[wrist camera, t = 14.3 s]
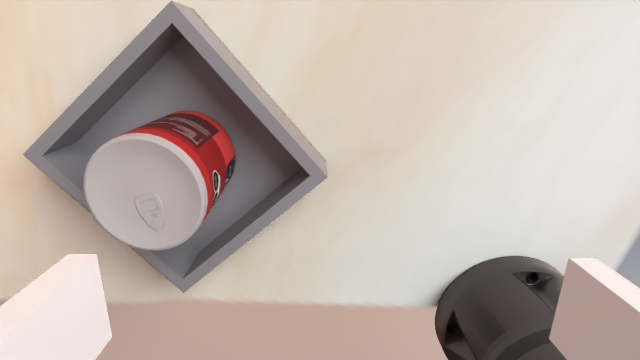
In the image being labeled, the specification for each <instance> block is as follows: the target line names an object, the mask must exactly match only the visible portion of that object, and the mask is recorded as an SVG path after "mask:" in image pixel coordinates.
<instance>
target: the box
mask: <svg viewBox="0 0 640 360" xmlns="http://www.w3.org/2000/svg"><path fill="white" fill-rule="evenodd" d="M184 110H188V111H196V112H200V113H203V114H205V115H208V116H210V117H212V118H213V119H214V120H216V121H217V122H218V123H220V124H221V125H222V126H223V128H224V129H225V130H226V131H227V133H228V134H229V136H230V138H231V140H232V143H233V145H234V149H235V154H236V163H235V169H234V172H233V174H232V177H231V179H230V180H229V182H228V183H227V185H226V187H225V188H224V190H223V191H222V193H221V194H220V196H219V198H218V199H217V201H216V202H215V204H214V206H213V207H212V209H211V210H210V212H209V213H208V215H207V217H206V218H205V219H204V221H203V222H202V224H201V225H200V227H199V228H198V229H197V231H196V232H195V233H194V234H193V235H192V236H191V237H190V238H188V239H187V240H186V241H185V242H183V243H181V244H180V245H178V246H176V247H173V248H169V249H165V250H157V251H154V250H143V249H139V248H134V247H132V246H130V247H131V248H132V249H133V250H134V251H136V252H137V253H138V254H139V255H140V256H141V257H143V258H144V259H145V260H146V261H147V262H148V263H150V264H151V265H152V266H153V267H154V268H155V269H157V270H158V271H159V272H160V273H161V274H162V275H164V276H165V277H166V278H167V279H168V280H169V281H171V282H172V283H173V284H174V285H175V286H176V287H178V288H179V289H180V290H181V291H182V292H183V293H184V292H185V291H186V290H188V289H189V288H190V287H191V286H193V285H194V284H195V283H196V282H197V281H199V280H200V279H201V278H202V277H204V276H205V275H206V274H207V273H209V272H210V271H211V270H212V269H214V268H215V267H216V266H217V265H219V264H220V263H221V262H222V261H224V260H225V259H226V258H227V257H229V256H230V255H231V254H232V253H234V252H235V251H236V250H237V249H239V248H240V247H241V246H242V245H244V244H245V243H246V242H247V241H249V240H250V239H251V238H252V237H254V236H255V235H256V234H257V233H259V232H260V231H261V230H262V229H264V228H265V227H266V226H267V225H269V224H270V223H271V222H272V221H274V220H275V219H276V218H277V217H279V216H280V215H281V214H282V213H284V212H285V211H286V210H287V209H288V208H290V207H291V206H292V205H293V204H295V203H296V202H297V201H298V200H300V199H301V198H302V197H303V196H305V195H306V194H307V193H308V192H310V191H311V190H312V189H313V188H315V187H316V186H317V185H318V184H320V183H321V182H322V181H323V180H325V179H326V178H327V177H328V176H327V168H326V160H325V159H324V158H323V157H322V156H321V154H320V153H319V152H318V151H317V150H316V149H315V148H314V146H313V145H312V144H311V143H310V142H309V141H308V140H307V138H306V137H305V136H304V135H303V134H302V133H301V132H300V130H299V129H298V128H297V127H296V126H295V125H294V124H293V122H292V121H291V120H290V119H289V118H288V117H287V116H286V114H285V113H284V112H283V111H282V110H281V109H280V108H279V106H278V105H277V104H276V103H275V102H274V101H273V100H272V98H271V97H270V96H269V95H268V94H267V93H266V92H265V90H264V89H263V88H262V87H261V86H260V85H259V84H258V82H257V81H256V80H255V79H254V78H253V77H252V76H251V75H250V73H249V72H248V71H247V70H246V69H245V68H244V67H243V65H242V64H241V63H240V62H239V61H238V60H237V59H236V57H235V56H234V55H233V54H232V53H231V52H230V51H229V49H228V48H227V47H226V46H225V45H224V44H223V43H222V41H221V40H220V39H219V38H218V37H217V36H216V35H215V33H214V32H213V31H212V30H211V29H210V28H209V27H208V25H207V24H206V23H205V22H204V21H203V20H202V19H201V17H200V16H199V15H198V14H197V13H196V12H195V11H194V9H192V8H189V7H186V6H184V5H181V4H178V3H175V2H173V1H171V2H170V3H169V4H168V5H167V6H166V7H165V8H164V9H163V10H162V11H161V12H160V13H159V14H158V15H157V16H156V17H155V18H154V19H153V20H152V21H151V22H150V23H149V24H148V25H147V26H146V27H145V29H144V30H143V31H142V32H141V33H140V34H139V35H138V36H137V37H136V38H135V39H134V40H133V41H132V42H131V43H130V44H129V45H128V46H127V47H126V48H125V49H124V50H123V51H122V52H121V53H120V54H119V55H118V57H117V58H116V59H115V60H114V61H113V62H112V63H111V64H110V65H109V66H108V67H107V68H106V69H105V70H104V71H103V72H102V73H101V74H100V75H99V76H98V77H97V78H96V79H95V80H94V81H93V82H92V84H91V85H90V86H89V87H88V88H87V89H86V90H85V91H84V92H83V93H82V94H81V95H80V96H79V97H78V98H77V99H76V100H75V101H74V102H73V103H72V104H71V105H70V106H69V107H68V108H67V109H66V110H65V112H64V113H63V114H62V115H61V116H60V117H59V118H58V119H57V120H56V121H55V122H54V123H53V124H52V125H51V126H50V127H49V128H48V129H47V130H46V131H45V132H44V133H43V134H42V135H41V136H40V137H39V138H38V140H37V141H36V142H35V143H34V144H33V145H32V146H31V147H30V148H29V149H28V150H27V151H26V152H25V153H24V154H23V155H24V156H25V157H26V158H27V159H29V160H30V161H31V162H32V163H33V164H34V165H36V166H37V167H38V168H39V169H40V170H41V171H43V172H44V173H45V174H46V175H47V176H48V177H50V178H51V179H52V180H53V181H54V182H55V183H57V184H58V185H59V186H60V187H61V188H62V189H63V190H65V191H66V192H67V193H68V194H69V195H70V196H72V197H73V198H74V199H75V200H76V201H77V202H79V203H80V204H81V205H82V206H83V207H84V208H86V209H87V210H88V211H89V212H90V213H91V211H90V209H89V207H88V204H87V201H86V199H85V193H84V187H83V185H84V173H85V170H86V166H87V164H88V162H89V160H90V158H91V156H92V155H93V154H94V153H95V152H96V151H97V150H98V149H99V147H101V146H102V145H104V144H105V143H107V142H108V141H110V140H111V139H113V138H115V137H117V136H119V135H121V134H123V133H126V132H128V131H130V130H133V129H135V128H138V127H140V126H142V125H145V124H147V123H150V122H152V121H154V120H157V119H159V118H162V117H164V116H166V115H169V114H171V113H174V112H177V111H184ZM91 214H92V213H91Z"/></svg>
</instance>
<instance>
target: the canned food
mask: <svg viewBox="0 0 640 360" xmlns="http://www.w3.org/2000/svg"><path fill="white" fill-rule="evenodd" d="M235 163H236V154H235V149H234V145H233V143H232V140H231V138H230V136H229V134H228V133H227V131H226V130H225V129H224V128H223V126H222V125H221V124H220V123H218V122H217V121H216V120H214V119H213V118H212V117H210V116H208V115H205V114H203V113H200V112H196V111H188V110H184V111H177V112H174V113H171V114H169V115H166V116H164V117H162V118H159V119H157V120H154V121H152V122H150V123H147V124H145V125H142V126H140V127H138V128H135V129H133V130H130V131H128V132H126V133H123V134H121V135H119V136H117V137H115V138H113V139H111V140H110V141H108V142H107V143H105V144H104V145H102V146H101V147H99V149H98V150H97V151H96V152H95V153H94V154H93V155H92V156H91V158H90V160H89V162H88V164H87V166H86V170H85V173H84V185H83V187H84V193H85V199H86V201H87V204H88V207H89V209H90V211H91V213H92V214H93V216H94V218H95V219H96V221H97V222H98V223H99V224H100V225H101V226H102V228H103V229H104V230H106V231H107V232H108V233H109V234H110V235H111V236H113V237H114V238H116V239H117V240H119V241H121V242H122V243H124V244H127V245H129V246H132V247H134V248H139V249H143V250H154V251H157V250H165V249H169V248H173V247H176V246H178V245H180V244H181V243H183V242H185V241H186V240H187V239H188V238H190V237H191V236H192V235H193V234H194V233H195V232H196V231H197V229H198V228H199V227H200V225H201V224H202V222H203V221H204V219H205V218H206V217H207V215H208V213H209V212H210V210H211V209H212V207H213V206H214V204H215V202H216V201H217V199H218V198H219V196H220V194H221V193H222V191H223V190H224V188H225V187H226V185H227V183H228V182H229V180H230V179H231V177H232V174H233V172H234V169H235Z"/></svg>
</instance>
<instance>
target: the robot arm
mask: <svg viewBox="0 0 640 360" xmlns="http://www.w3.org/2000/svg"><path fill="white" fill-rule="evenodd" d="M435 329H436V334H437V337H438V339H439V342H440V344H441V346H442V349H443V351H444V353H445V355H446V357H447V358H448V360H640V288H638V287H637V286H635V285H634V284H633V283H631V282H630V281H628V280H627V279H625V278H624V277H622V276H621V275H620V274H618V273H617V272H615V271H614V270H612V269H611V268H610V267H608V266H607V265H605V264H604V263H602V262H601V261H599V260H598V259H597V258H569V260H568V264H567V268H566V272H565V276H563V275H562V274H561V273H560V272H559V271H557V270H556V269H555V268H554V267H552V266H551V265H549V264H547V263H545V262H543V261H541V260H538V259H534V258H530V257H523V256H508V257H501V258H496V259H492V260H489V261H486V262H483V263H481V264H479V265H476V266H474V267H473V268H471V269H469V270H468V271H466V272H465V273H463V274H462V275H461V276H459V277H458V278H457V279H456V280H455V281H454V282H453V283H452V284H451V285H450V286H449V287H448V289H447V290H446V291H445V293H444V295H443V296H442V298H441V300H440V302H439V305H438V307H437V311H436V316H435ZM111 338H112V333H111V328H110V322H109V317H108V313H107V307H106V301H105V296H104V291H103V285H102V280H101V275H100V269H99V264H98V259H97V254H68V255H66V256H65V257H64V258H62V259H61V260H60V261H59V262H57V263H56V264H55V265H53V266H52V267H51V268H50V269H48V270H47V271H46V272H44V273H43V274H42V275H40V276H39V277H38V278H37V279H35V280H34V281H33V282H31V283H30V284H29V285H28V286H26V287H25V288H24V289H22V290H21V291H20V292H18V293H17V294H16V295H15V296H13V297H12V298H11V299H9V300H8V301H7V302H5V303H4V304H3V305H2V306H0V360H95V359H96V358H97V356H98V355H99V354H100V353H101V351H102V350H103V348H104V347H105V346H106V344H107V343H108V342H109V340H110V339H111Z"/></svg>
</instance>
